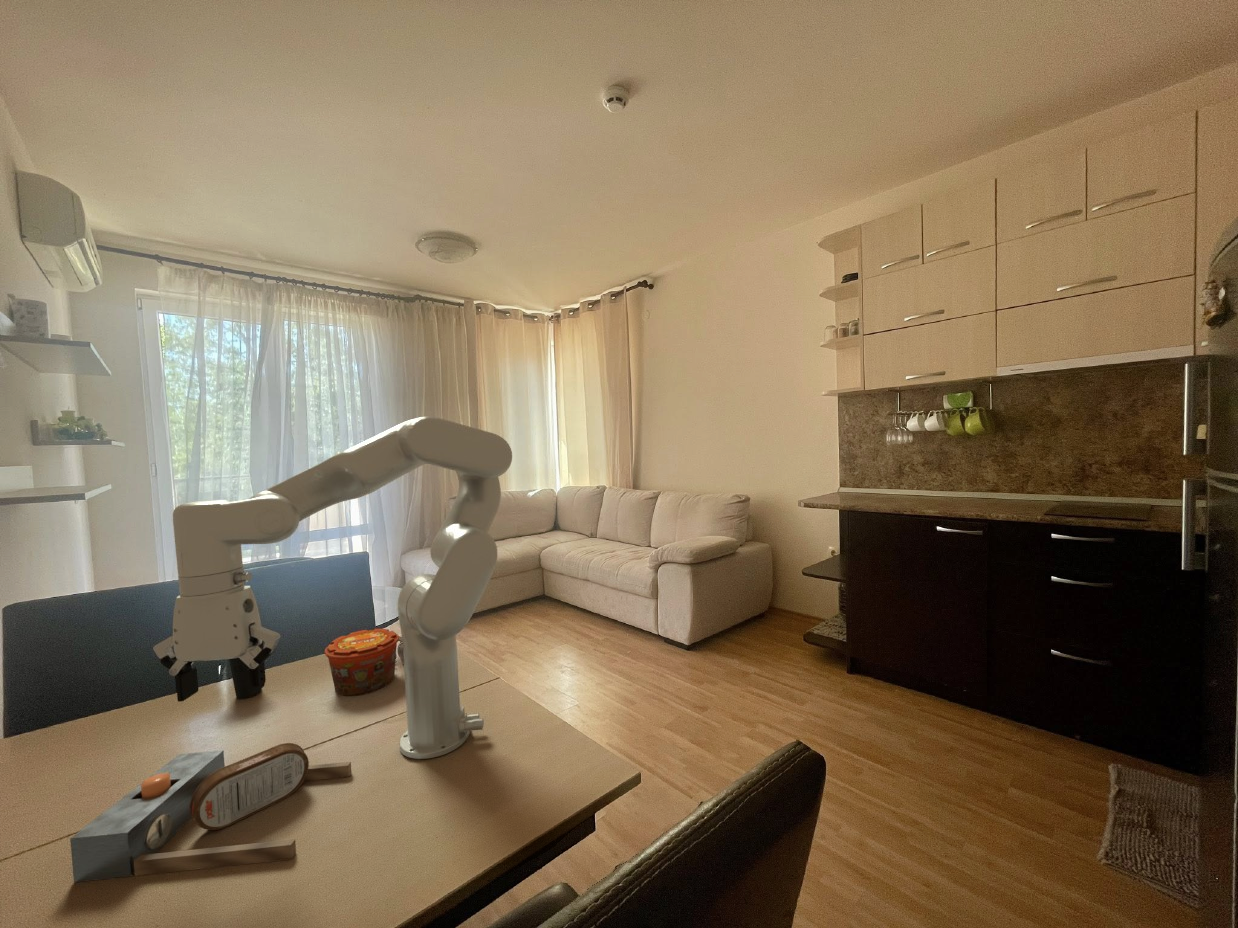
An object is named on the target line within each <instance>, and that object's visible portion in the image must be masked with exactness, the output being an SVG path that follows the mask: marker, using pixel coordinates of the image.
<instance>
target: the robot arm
mask: <svg viewBox="0 0 1238 928" xmlns="http://www.w3.org/2000/svg"><path fill="white" fill-rule="evenodd" d="M512 462H513V451H512V448H511V446H510V444H509V443H508V442H507V440H506V439H505V438H504V437H502V436H500V435H499V434H497V433H493V432H490V431H488V430H487V431H486V430H482V429H480V428H475V427H472V426H470V425H469V426H468V425H464V424H461V423H458V422H455V421H451V420H447V419H445V418H440V417H436V416H430V415H429V416H428V415H426V416H419V417H415V418H412V419H409V420H405V421H403V422H401V423H398V424H397V425H395V426H393V427H390V428H389V429H387V430H385V431H382V432H379V433H378V434H377V435H374V436H371V437H370V438H367V439H366V440H364V441H362V442H360V443H358V444H355V445H354V446H351V447H348V448H347V449H344V450H342V451H341V452H339V453H337V454H335V455H332V456H331V457H329V458H327V459H326V460H323V461H322V462H321V463H318V464H316V465H314V466H313V467H309V468H307V470H306V469H305V470H304V471H302V472H299V473H298V474H296V475H293V476H291V477H289V478H288V479H285V480H283V481H281V482H279V483H277V484H275V485H273V486H270V487H269V488H266V489H264V490H262V491H260V492H258V493H256V494H254V495H252V496H251V497H250V498H249V499H243V500H237V501H232V500H228V499H210V500H209V499H208V500H198V501H192V502H191V501H190V502H186V503H182V504H180V505H178V506H176V507H175V508H174V509H173V512H172V524H173V535H174V537H173V538H174V547H175V557H176V566H177V567H176V568H177V578H178V580H177V581H178V588H179V595H178V596H176V598H175V603H174V607H173V608H174V609H173V615H172V616H173V617H172V618H173V619H172V635H171V636H169V637H167V638H165V639H164V640H162V641H161V642H159V643H157V644H155V645H154V646H153V647H152V650H153V651H154V653H155V655H156V656H157V658H159V659H160V661H159V662H160V664H161V665H162V666H164V667H165V668H166V669H167V670H169V671H168V673H169V675H170V676H173V677H174V680H175V682H174V683H175V692H176V697H177V702H179V703H181V702H184V701H186V700H187V699H189V698H190V697H191V696H194V695H195V694H197V693H198V692H199V682H198V671H197V670H198V669H197V667H196V666H192V665H193V664H194V663H196V662H206V661H219V660H220V661H221V660H229V659H232V658H238V657H239V658H240V659H241V660H242V661H243V662H244V663H245V664H246V665H247V666H248V667H249V668H248V669H247V670H246V671H245V678H246V689H247V695H254V694H255V693H256V692H257V691H259V690H260V689H261V688H262V689H263V688H264V687H265V684H266V680H267V678H266V668H265V662H267V660H268V659H269V658H270V657H271V656H272V654H273V653H274V652H275V651H276V647H277V645H278V643H279V641H280V638H281V634H280V633H279V632H276V631H274V630H272V629H268V628H266V627H263V626H262V622H261V617H260V616H261V615H260V612H259V607H258V603H257V600H256V596H255V594H254V592H253V589H252V587H251V585H245V584H246V582H250V581H251V580H252V573H251V572H245V570H244V569H245V567H244V565H243V551H242V545H268V544H269V545H270V544H276V543H279V542H283V541H285V540H287V539H288V538H290V537H291V536H292V535H293V534H294V533H295V532H296V530H297V529H298V527H299V525H300V522H301V521H303V520H305V519H307V518H309V517H310V516H312V515H315V514H316V513H319V512H320V511H323V510H325V509H327V508H329V507H331V506H335V505H336V504H339V503H343V502H347V501H350V500H355V499H359V498H362V497H365V496H367V495H370V494H372V493H374V492H376V491H378V490H379V489H381V488H383V487H384V486H386V485H388V484H390V483H391V482H393V481H396V480H397V479H399V478H401V477H402V476H404V475H406V474H408V473H410V472H413V471H414V470H415V469H418V468H420V467H421V466H424V465H432V466H435V467H438V468H442V469H448V470H449V471H450V470H451V471H455V473H456V475H457V479H458V491H457V494H456V497H455V500H454V502H453V504H452V506H451V508H450V511H449V512H448V513H447V516H446V518H445V519H444V521H443V523H442V524H441V527H440V528H439V529H438V532H437V533H436V535H435V537H434V539H433V541H432V543H431V546H430V551H429V552H430V558H431V560H432V562H433V563H434V564H435V565H436V566H437V567H438V570H437V571H436V573H435V574H430V573H425V574H424V573H423V574H420V575H415V576H413V578H410V579H409V580H408V581H407V582H406V583H405V584H404V586H402V588H401V590H400V592H399V594H398V595H399V596H398V598H397V599H398V600H397V615H398V621H399V627H400V634H401V641H402V642H401V643H402V651H403V653H402V654H403V668H404V669H403V671H404V685H405V686H404V687H405V689H404V690H405V702H406V703H405V704H406V723H407V730H406V731H404V733H403V734H402V735H401V737H400V739H399V743H398V745H399V750H400V753H401V754H402V755H403V756H405V757H407V758H410V759H414V760H416V759H417V760H427V759H433V758H437V757H440V756H441V757H442V756H444V755H446V754H449V753H451V752H452V751H455V750H456V749H458V748H460V746H462V745H463V744H464V743H465V741H467V739H468V738H469V735H470V733H471V731H482V730H484V718H480V713H473V714H468V713H466V712H465V711H466V710H465V706H463V705H461V703H460V702H461V700H460V684H459V683H460V682H459V680H460V679H459V666H458V665H459V664H458V660H459V659H458V645H457V634H459V633H461V632H462V631H463V629H464V628H465V627H466V626H467V624H468V623H469V621H470V620H471V618H472V616H473V614H474V612H475V610H476V608H477V606H478V604H479V602H480V600H481V598H482V596H483V595H484V592H485V590H486V588H487V586H488V583H490V579H492V576H493V573H494V571H495V568H496V565H497V561H498V547H497V544H496V542H495V540H494V538H493V537H492V535H491V534H489V531H490V529H491V527H492V524H493V522H494V520H495V517H496V515H497V512H498V510H499V507H500V503H501V499H502V498H501V497H502V494H501V493H502V492H501V483H500V478H499V477H501V476H502V475H503V474H505V473H506V472H507V471H508V470H509V468H510V467H511V464H512ZM262 640H263V641H264V644H263V650H262V649H261V648H260V647H258V646H259V645H260V644H261V643H262ZM172 647H173V648H172ZM249 652H250V653H251V654H252V655H253V656H254V657H255V658H254V657H253V656H252V655H251V654H250V653H249Z"/></svg>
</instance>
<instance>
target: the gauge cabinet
mask: <svg viewBox="0 0 1238 928" xmlns="http://www.w3.org/2000/svg"><path fill="white" fill-rule="evenodd" d="M224 753H225V751H224V749H222V750H211V751H200V752H189V753H188V752H187V753H179V754H178V755H176V756H175V757H173V758H172V759H171V760H170V761H168V762H167V763H166V764H164V766H162V767H161V768H160V769H158V770H157V771H156V772H154V773H153V774H152V775H150V776H149V777H148V778H150V777H152V776H154V775H157V774H161V773H169V774H170V782H171V788H169V789H168V790H167V791H166V792H165V793H163V794H162V795H161V796H160V797H152V798H142V793H141V784H142V782H141V783H140V784H139V785H137V786H136V787H135V788H133V789H132V790H131V791H129V792H128V793H127V794H126V795H124V796H123V797H122V798H121V799H119V800H118V801H116V802H115V803H114V804H113V805H111V806H110V807H109V808H108V809H107V810H105V811H104V812H102V813H101V814H100V815H98V816H97V817H96V818H95V819H92V821H91V822H90V823H88V824H87V825H86V826H84V827H83V828H82V829H79V831H78V832H77V833H75V834H74V835H72V836H71V837H70V840H69V843H70V850H71V851H70V852H71V862H72V863H71V864H72V877H73V883H80V882H90V881H91V882H92V881H100V880H106V879H108V880H109V879H119V878H125V877H132V876H133V875H135V871H134V861H135V860H136V859H137V858H138V857H139V856H140V855H147V854H157V853H158V850H160V849H162V847H163V846H164V845H165V844H166V843H168V841H169V840H170V839H171V838H172V837H173V836H174V835H176V834H177V833H178V832H179V831H180V829H181V828H183V827H184V826H185V825H186V824H187V823H188V822H189V821H190V820H191V819H193V817H192V816H191V813H190V802H191V799H192V796H193V794H194V792H195V791H196V789H197V788H198V786H199V785H200V784H201V783H202V782H203V781H204V780H205V779H206V778H207V777H208V776H209V775H211V774H212V773H214V772H215V771H217V770H219V769H221V768H223V767H225V754H224ZM156 852H157V853H156Z"/></svg>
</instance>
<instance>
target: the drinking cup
mask: <svg viewBox="0 0 1238 928" xmlns="http://www.w3.org/2000/svg"><path fill="white" fill-rule="evenodd" d="M264 645H265V642H264V641H263V640H262V643H261V644H260V645H259V646H258V647H260V648H261V649H262V650H263V648H264ZM249 653H250V652H249ZM250 654H251V653H250ZM251 655H252V654H251ZM252 656H253V655H252ZM253 657H254V656H253ZM254 658H255V657H254ZM228 663H229V666H230V673H231V678H232V682H233V687H234V693H235V699H237V700H245V699H250V698H253V697H255V696H257V695H260V694H261V692H262V691H263V690H262V689H263V688H261V689H260V690H259V691H257V692H256V693H255V694H254V695H247V689H246V678H245V671H246V670H247V669H248V668H249V667H248V666H247V665H246V664H245V663H244V662H243V661H242V660H241V659H240V658H239V657H238V658H232V659H228Z"/></svg>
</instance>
